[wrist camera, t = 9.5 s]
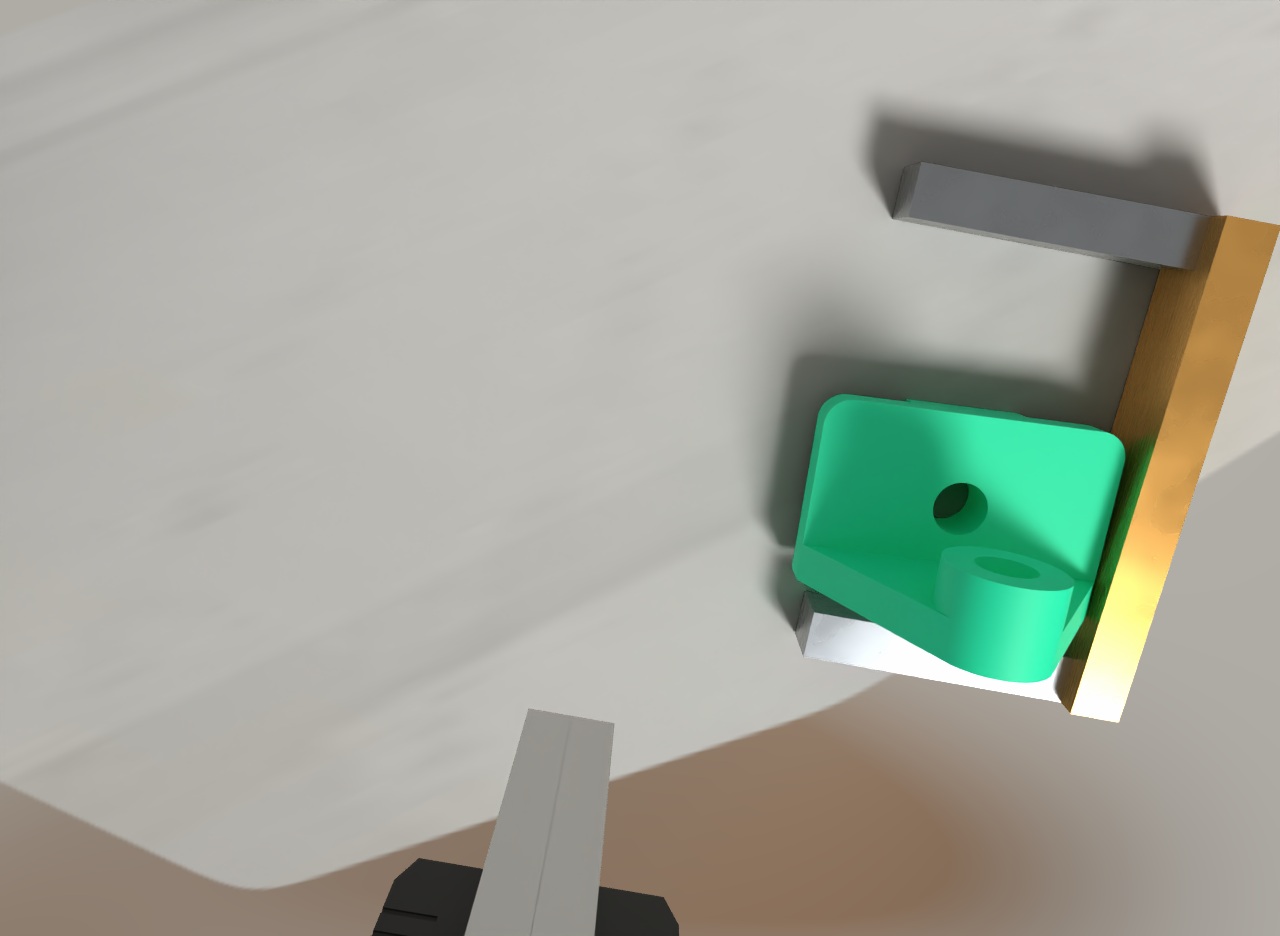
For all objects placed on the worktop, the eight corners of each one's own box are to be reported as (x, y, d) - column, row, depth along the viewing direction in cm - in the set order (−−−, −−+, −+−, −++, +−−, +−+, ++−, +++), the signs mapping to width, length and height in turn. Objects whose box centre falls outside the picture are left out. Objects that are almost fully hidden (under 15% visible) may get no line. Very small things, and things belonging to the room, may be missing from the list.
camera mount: (1100, 423, 39) (1251, 483, 29) (1059, 593, 41) (1187, 704, 31) (817, 386, 39) (871, 434, 29) (788, 559, 41) (829, 659, 31)
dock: (794, 632, 42) (807, 667, 38) (904, 167, 37) (929, 158, 34) (1081, 683, 42) (1118, 722, 39) (1224, 227, 37) (1281, 225, 34)
